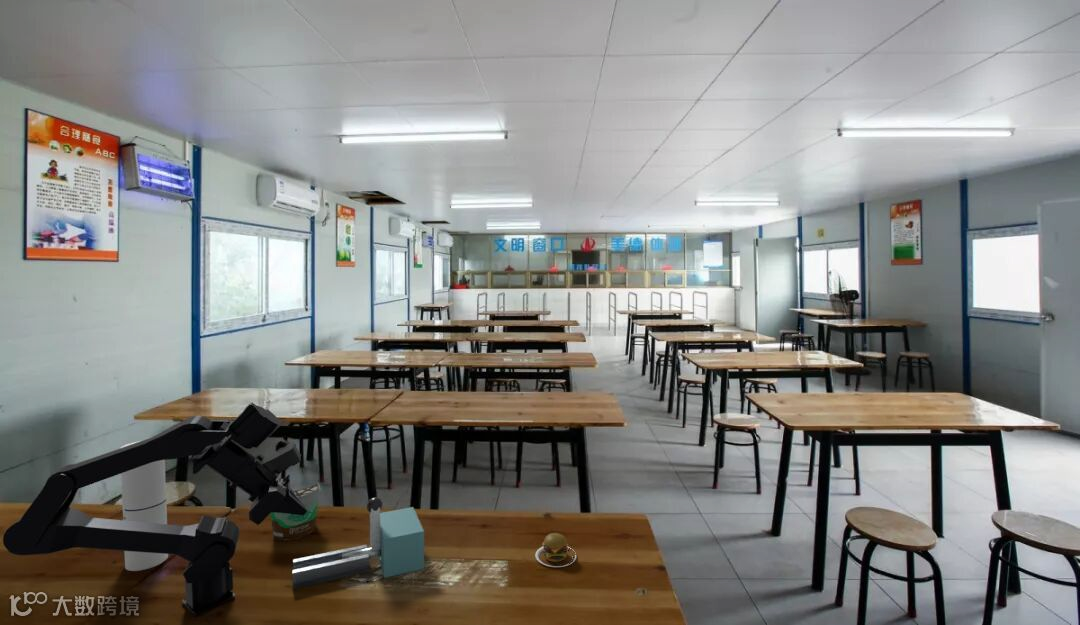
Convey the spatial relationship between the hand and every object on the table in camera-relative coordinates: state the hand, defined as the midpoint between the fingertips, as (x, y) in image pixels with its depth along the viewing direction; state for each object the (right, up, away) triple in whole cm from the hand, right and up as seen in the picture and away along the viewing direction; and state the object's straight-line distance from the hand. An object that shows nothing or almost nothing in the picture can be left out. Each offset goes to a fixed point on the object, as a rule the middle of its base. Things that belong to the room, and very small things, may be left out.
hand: (305, 512), depth 97 cm
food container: (-10, -13, +18) cm, 25 cm away
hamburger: (+50, -14, +9) cm, 53 cm away
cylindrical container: (-37, -13, +7) cm, 40 cm away
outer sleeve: (+5, -14, +3) cm, 15 cm away
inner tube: (+11, -12, +6) cm, 18 cm away
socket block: (+16, -13, +8) cm, 23 cm away
